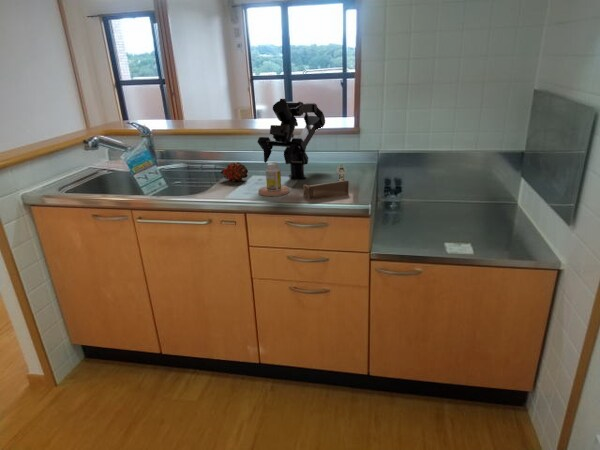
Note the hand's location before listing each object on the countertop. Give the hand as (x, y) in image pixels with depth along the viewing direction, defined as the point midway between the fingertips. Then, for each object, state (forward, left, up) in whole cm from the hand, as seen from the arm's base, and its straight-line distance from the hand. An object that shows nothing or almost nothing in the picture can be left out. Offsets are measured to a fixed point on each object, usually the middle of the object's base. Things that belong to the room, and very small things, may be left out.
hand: (275, 163), depth 158 cm
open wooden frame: (+11, +17, -11) cm, 23 cm away
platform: (-5, +27, -11) cm, 30 cm away
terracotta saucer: (+2, -1, -11) cm, 11 cm away
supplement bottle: (+2, -1, -10) cm, 10 cm away
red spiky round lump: (-19, -16, -11) cm, 27 cm away
